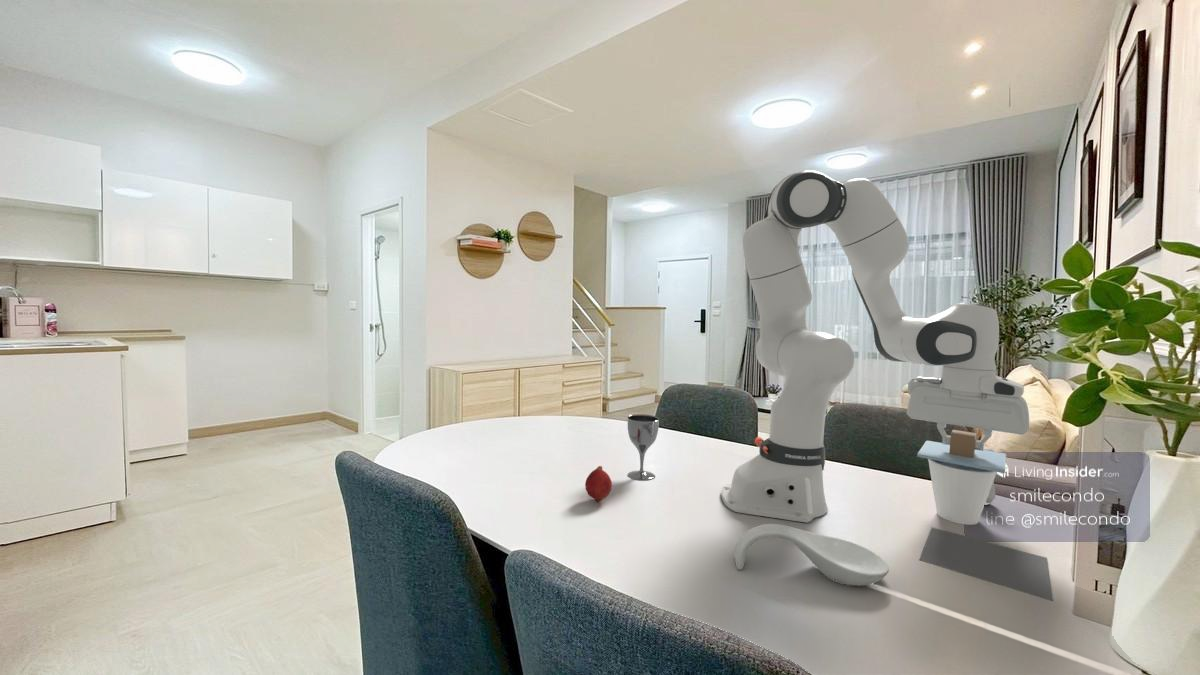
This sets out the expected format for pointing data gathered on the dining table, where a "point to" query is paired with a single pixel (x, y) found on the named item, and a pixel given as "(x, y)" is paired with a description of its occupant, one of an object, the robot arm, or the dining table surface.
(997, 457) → the cover sheet
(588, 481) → the onion
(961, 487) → the cup
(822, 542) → the spoon rest
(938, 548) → the sheet mat
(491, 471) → the dining table surface
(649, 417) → the wine glass
